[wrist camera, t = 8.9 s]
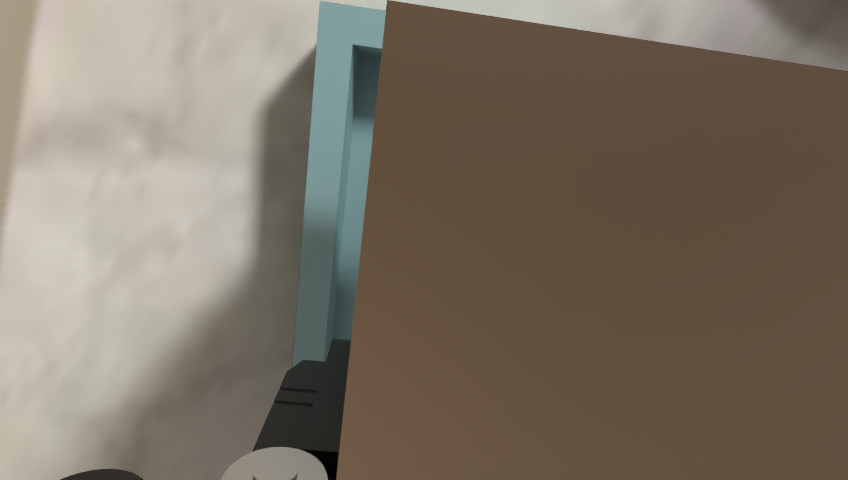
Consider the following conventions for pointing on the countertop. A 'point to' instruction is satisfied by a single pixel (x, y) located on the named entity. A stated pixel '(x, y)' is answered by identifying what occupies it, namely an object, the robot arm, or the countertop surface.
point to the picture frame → (597, 260)
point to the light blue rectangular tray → (337, 174)
